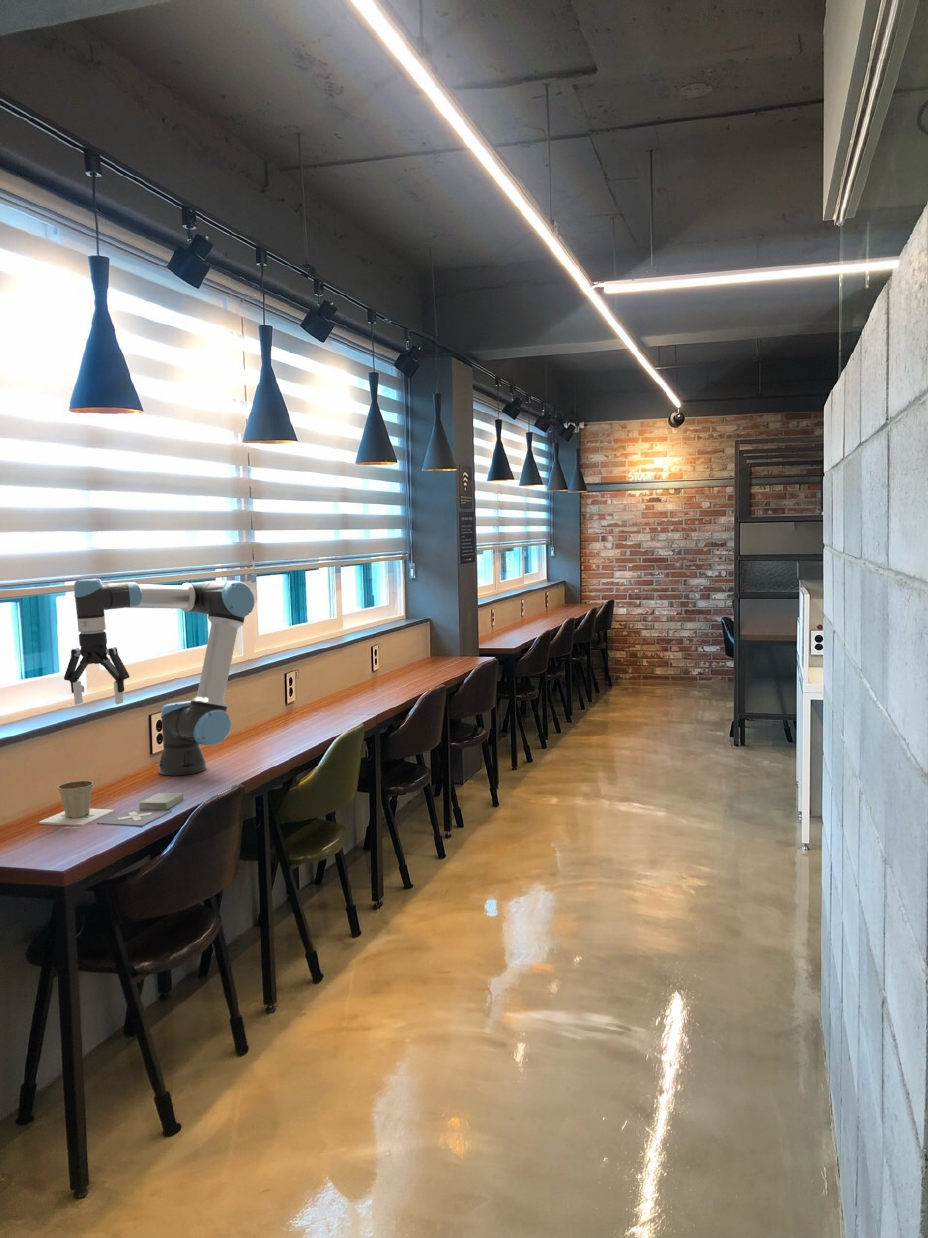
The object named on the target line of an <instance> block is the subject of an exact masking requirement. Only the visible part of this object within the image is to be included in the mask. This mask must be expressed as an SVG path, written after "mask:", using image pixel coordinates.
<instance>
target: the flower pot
mask: <svg viewBox="0 0 928 1238" xmlns="http://www.w3.org/2000/svg"><path fill="white" fill-rule="evenodd" d="M93 785H94V781H91V780H75V781H70V782H69V781H68V782H65V783H62V784H59V785H57V787H56V789H57V790H59V794H60V797H61V801H62V807H63V809H64V810H63V811H65V816H66V817H68V818H69V817H72V818H77V817H83V816H85V815H88V814H89V813H90V809H91V800H92V798H91V797H92V790H93Z"/></svg>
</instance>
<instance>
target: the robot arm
mask: <svg viewBox="0 0 928 1238" xmlns="http://www.w3.org/2000/svg"><path fill="white" fill-rule="evenodd" d="M73 588H74V589H73V590H74V596H73V597H74V600H75V601H74V602H75V609H76V610H75V611H76V619H77V621H76V622H77V630H78V633H79V634H78V640H79V641H78V642H79V646H80V648H79V647H78V648H77V647H76V648H72V649H71V650H70V659H69V662H68V664H67V667H66V671H65V672H64V673H65V674H64V676H63V679H64V680H63V681H68V682H69V683H70V688H71V694H73V700H74V705H80V704H82V703H83V702H84V701H83V692H82V682H81V680H80V677H81V676H82V675H83V673H84V671H85V670H86V668H87V667H88V665H92V664H94V665H98V664H100V665H101V666H102V667H104V669H105V670H106V671H107V672H108V674H109V675H110V676H111V677H112V678H113V679H114V682H113V690H114V701H115V702H114V703H115V705H120V704H122V703H124V696H123V693H124V692H125V683H124V681H125V680H126V679H127V680H128V679H129V678H130V677H131V676H130V674H129V672H128V670H127V668H126V667H125V664H124V663H123V661H122V659H121V657H120V655H119V653H118V647H111V648H107V643H108V638H107V632H106V631H105V630H106V629H107V626H106V617H105V611H108V610H116V609H117V610H118V609H124V608H125V609H126V608H127V609H134V608H135V609H180V610H181V611H183V612H187V613H198V614H205V615H207V619H208V620H209V622H210V629H209V635H208V640H207V644H206V650H205V654H204V659H203V665H202V669H201V670H202V671H201V674H200V679H199V684H198V690H197V692H196V693H197V694H196V696H194V697H193V698H192V699H191V700H187V701H179V702H172V703H167V704H164V705H163V706H162V707H161V711H160V712H161V713H160V714H161V715H160V718H161V730H162V731H161V732H162V745H163V749H162V753H161V754H162V755H161V758H160V762H159V765H158V772H159V774H160V775H163V776H171V777H172V776H188V775H192V774H198V773H201V772H203V771H205V770H206V769H207V762H206V759H205V756H204V753H203V751H202V749H201V746H215V745H219V744H220V743H221V742H223V741H224V740H225V739H226V738H227V737H228V735H229V733H230V731H231V727H232V722H231V721H232V719H231V718H230V715H229V714H228V712H227V711H228V704H227V703H226V701H225V696H226V695H225V694H226V691H227V685H228V681H229V680H228V679H229V675H230V670H231V664H232V660H233V655H234V649H235V644H236V639H237V634H238V629H240V627H242V626H243V625H244V624H245V618H246V617H247V616H248V615H250V613H252V612H253V609H254V607H255V594H254V592H253V591H252V590H251V589H252V588H250V586H248V584H246V583H245V582H243V581H240V580H239V581H238V580H207V581H202V582H185V583H182V585H168V584H167V585H165V584H164V585H163V584H142V583H141V584H139V583H137V582H135V581H132V582H130V581H129V582H128V581H126V582H102V580H101V579H100V578H85V579H84V578H83V579H77V580H76V581H75V582H74V587H73ZM80 656H81V657H82V658H81V659H80ZM108 656H109V657H108ZM78 662H79V664H78Z"/></svg>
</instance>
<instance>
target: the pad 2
mask: <svg viewBox="0 0 928 1238" xmlns="http://www.w3.org/2000/svg"><path fill="white" fill-rule="evenodd" d="M172 812H173V811H172V810H169V809H167V810H140V809H139V808H131V807H130V808H129V807H128V808H126V809H124V810H122V811H120V812H118V813H115V814H113V815H111V816H109V817H107V818H105V819H102V820H100V821H98V822H96V824H97V825H106V826H107V825H109V826H111V825H112V826H129V827H140V828H143V827H144V826H146V825H148V824H151V823H153V822H154V821H156V820H158V819H160V818H163V817H164V816H167V815H168V814H171V813H172Z"/></svg>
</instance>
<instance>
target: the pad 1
mask: <svg viewBox="0 0 928 1238" xmlns="http://www.w3.org/2000/svg"><path fill="white" fill-rule="evenodd" d="M115 811H116V810H115V809H103V808H90V813H89V814H88V815H85V816H83V817H77V818H72V817H69V818H68V817H66V816H65V810H63V811H61V812H59V813H57V814H54V815H51V816H49V817H47V818H43V819H42V820H40V821H38V824H39V825H54V826H62V825H65V826H66V825H67V826H68V825H69V826H70V825H71V826H81V827H82V826H84V825H87V824H89V823H91V822H94V821H96V820H98V819H100V818H102V817H105V816H107V815H109V814H112V813H114V812H115Z"/></svg>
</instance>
